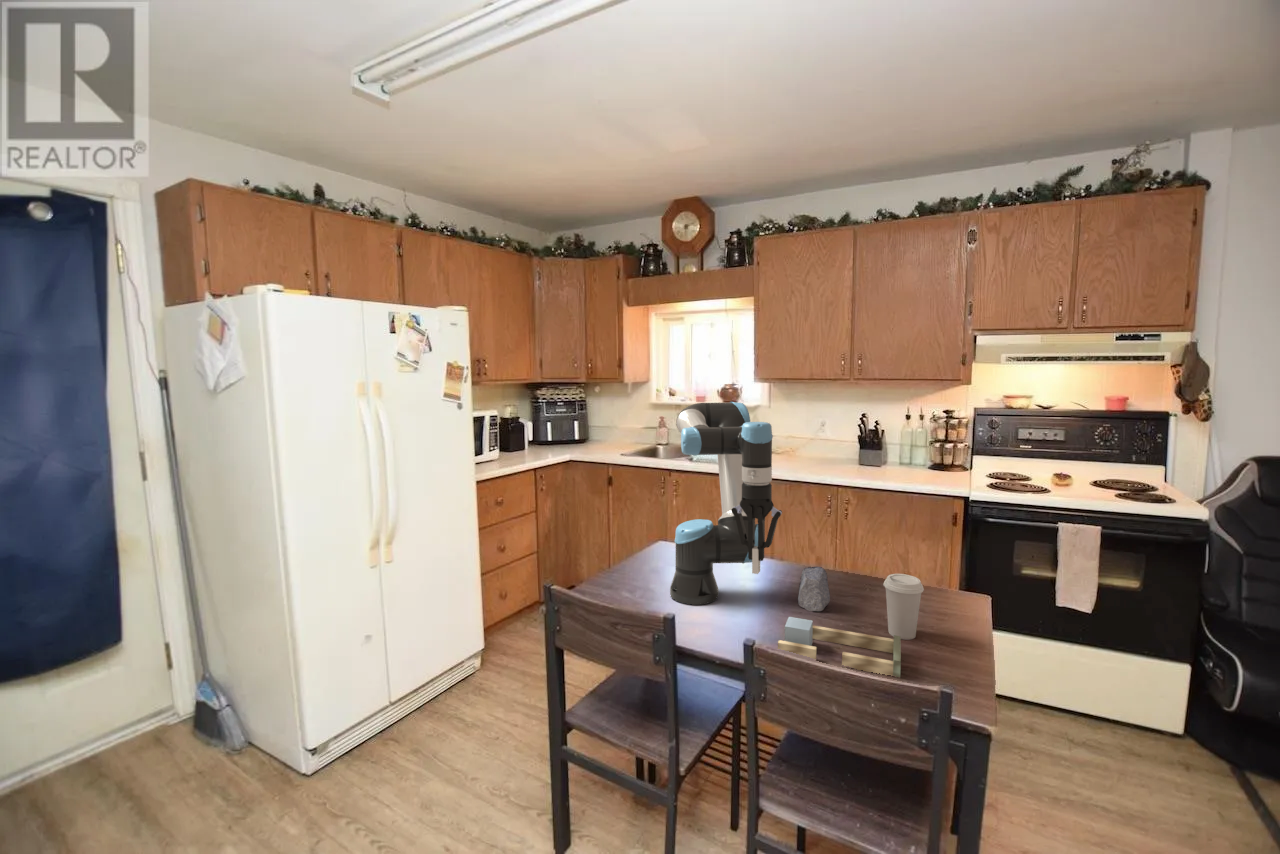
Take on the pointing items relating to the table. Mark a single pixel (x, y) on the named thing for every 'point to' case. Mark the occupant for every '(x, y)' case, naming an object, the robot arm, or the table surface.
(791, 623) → the block
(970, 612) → the table surface
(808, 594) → the stone
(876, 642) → the channel
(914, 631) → the coffee cup
